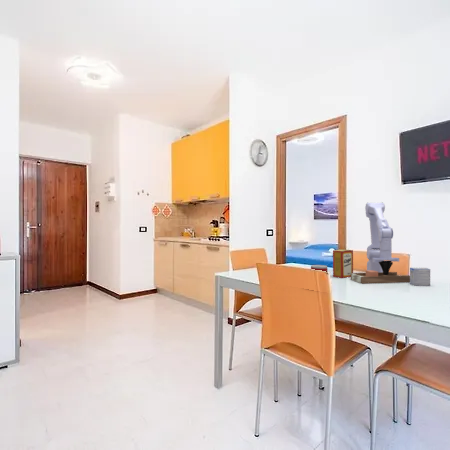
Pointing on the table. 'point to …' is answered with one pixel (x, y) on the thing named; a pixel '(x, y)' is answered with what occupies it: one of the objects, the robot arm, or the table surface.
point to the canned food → (319, 267)
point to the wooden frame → (380, 278)
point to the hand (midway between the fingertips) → (385, 274)
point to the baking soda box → (342, 263)
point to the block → (371, 273)
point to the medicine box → (420, 276)
